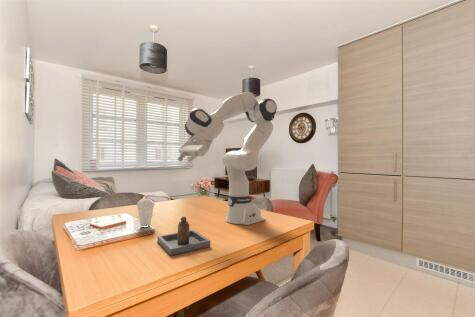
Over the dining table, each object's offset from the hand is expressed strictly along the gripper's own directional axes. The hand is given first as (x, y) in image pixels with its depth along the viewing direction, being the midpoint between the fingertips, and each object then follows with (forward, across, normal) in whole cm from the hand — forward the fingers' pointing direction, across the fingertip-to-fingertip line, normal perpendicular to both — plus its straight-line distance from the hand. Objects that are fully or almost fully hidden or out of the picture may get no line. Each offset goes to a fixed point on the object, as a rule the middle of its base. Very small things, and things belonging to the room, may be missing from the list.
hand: (183, 160), depth 113 cm
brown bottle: (+29, -16, -18) cm, 37 cm away
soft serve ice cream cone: (+32, +16, -15) cm, 39 cm away
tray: (+29, -16, -18) cm, 38 cm away
